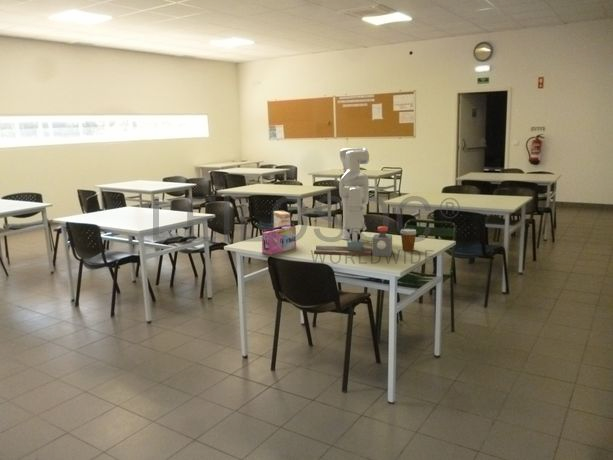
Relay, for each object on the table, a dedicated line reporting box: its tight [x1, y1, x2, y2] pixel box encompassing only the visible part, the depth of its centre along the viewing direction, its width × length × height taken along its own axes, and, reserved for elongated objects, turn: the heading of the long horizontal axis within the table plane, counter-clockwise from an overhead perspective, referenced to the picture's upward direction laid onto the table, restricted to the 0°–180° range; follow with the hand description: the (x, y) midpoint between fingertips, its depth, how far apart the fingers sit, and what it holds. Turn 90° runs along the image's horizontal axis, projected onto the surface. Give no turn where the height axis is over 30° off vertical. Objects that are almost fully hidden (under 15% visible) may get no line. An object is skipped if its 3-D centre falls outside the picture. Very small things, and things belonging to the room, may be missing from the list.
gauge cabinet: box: [372, 233, 393, 257], centre depth 294 cm, size 12×10×10 cm
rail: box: [313, 244, 373, 256], centre depth 300 cm, size 12×33×4 cm, turn 76°
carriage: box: [346, 231, 364, 251], centre depth 298 cm, size 7×8×11 cm
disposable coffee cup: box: [399, 228, 417, 252], centre depth 302 cm, size 10×10×12 cm
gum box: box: [261, 224, 297, 255], centre depth 307 cm, size 24×8×14 cm, turn 141°
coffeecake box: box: [273, 210, 291, 228], centre depth 332 cm, size 15×7×20 cm, turn 20°
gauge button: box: [377, 225, 389, 238], centre depth 293 cm, size 6×6×9 cm
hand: (355, 240), depth 298 cm, fingers closed on carriage, 3 cm apart
